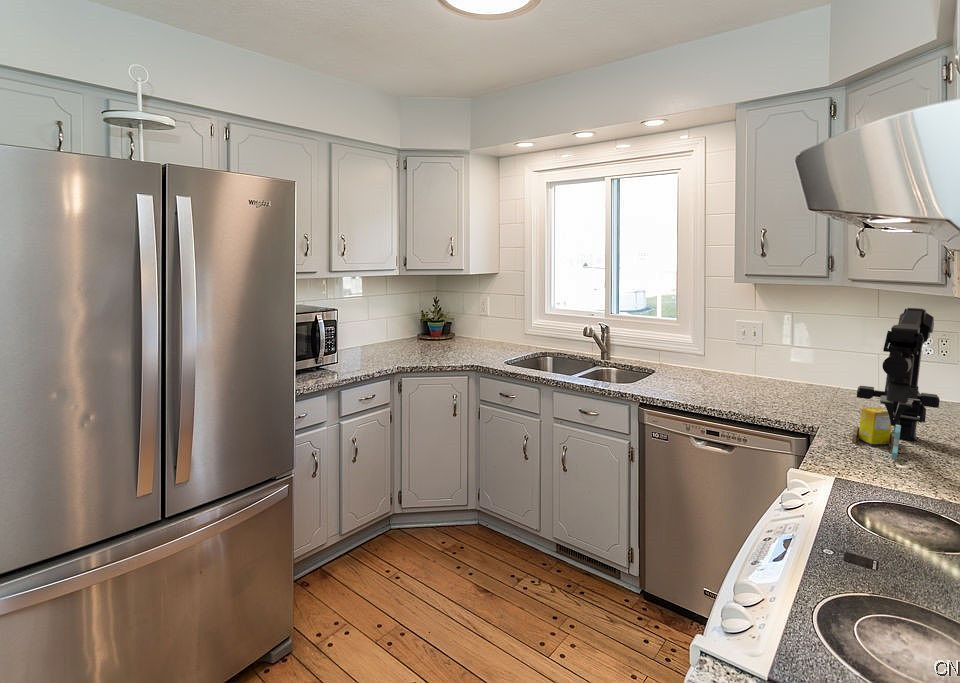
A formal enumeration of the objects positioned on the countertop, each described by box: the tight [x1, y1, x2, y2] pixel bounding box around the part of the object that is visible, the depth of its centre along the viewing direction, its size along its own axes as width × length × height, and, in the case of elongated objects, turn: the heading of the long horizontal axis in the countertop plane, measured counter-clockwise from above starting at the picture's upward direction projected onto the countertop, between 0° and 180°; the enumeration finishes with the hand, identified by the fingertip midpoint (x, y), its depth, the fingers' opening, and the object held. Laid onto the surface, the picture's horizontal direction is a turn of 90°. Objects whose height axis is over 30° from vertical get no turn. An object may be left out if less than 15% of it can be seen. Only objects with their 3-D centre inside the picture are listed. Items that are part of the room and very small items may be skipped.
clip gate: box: [890, 425, 901, 461], centre depth 165 cm, size 1×10×8 cm, turn 142°
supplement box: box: [857, 407, 892, 447], centre depth 177 cm, size 6×6×11 cm
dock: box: [851, 426, 894, 450], centre depth 178 cm, size 10×11×3 cm
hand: (893, 425), depth 162 cm, fingers closed
